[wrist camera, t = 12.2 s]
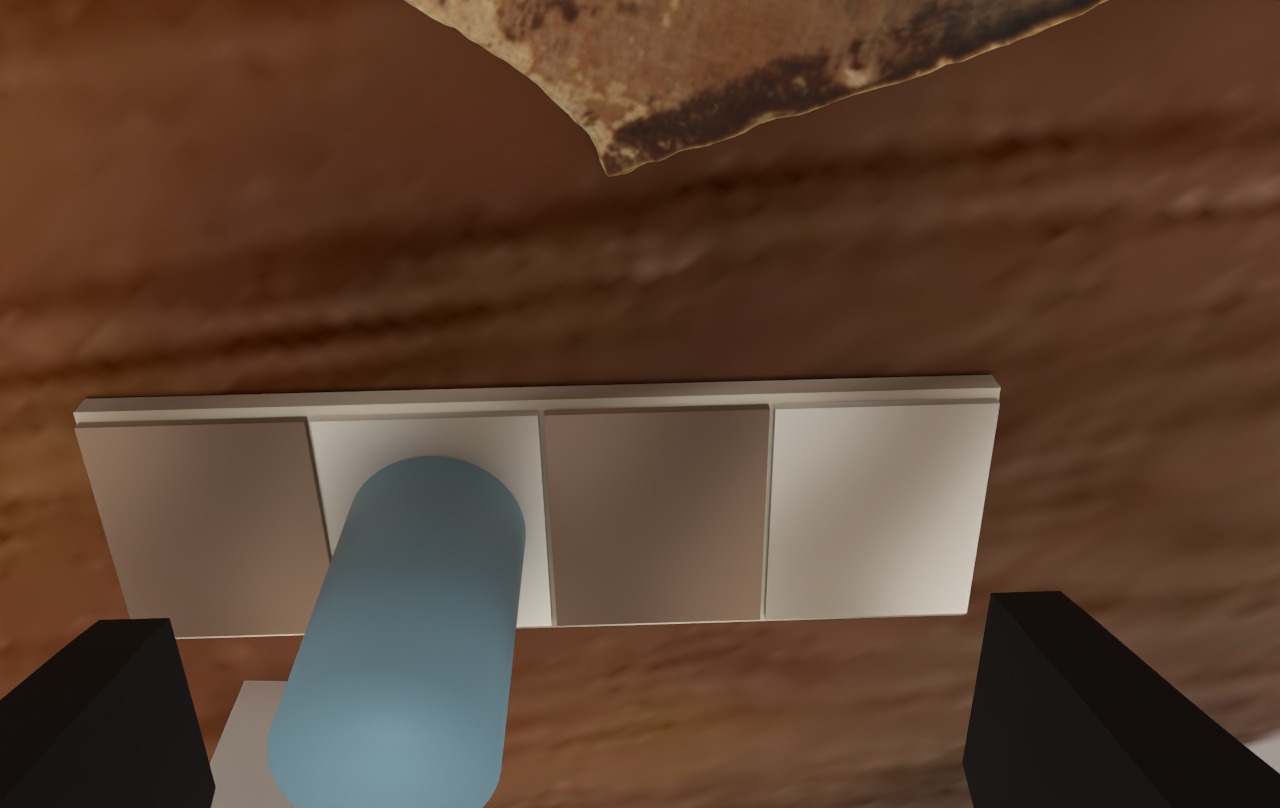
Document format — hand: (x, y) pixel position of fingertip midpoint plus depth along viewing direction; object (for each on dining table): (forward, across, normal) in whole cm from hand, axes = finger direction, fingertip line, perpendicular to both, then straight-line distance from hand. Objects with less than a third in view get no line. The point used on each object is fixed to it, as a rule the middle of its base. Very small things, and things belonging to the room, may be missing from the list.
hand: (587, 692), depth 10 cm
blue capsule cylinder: (+9, +3, +4) cm, 11 cm away
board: (+10, +1, +4) cm, 11 cm away
